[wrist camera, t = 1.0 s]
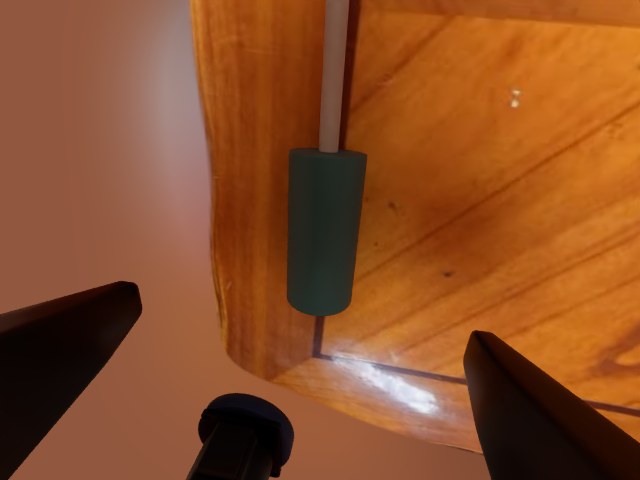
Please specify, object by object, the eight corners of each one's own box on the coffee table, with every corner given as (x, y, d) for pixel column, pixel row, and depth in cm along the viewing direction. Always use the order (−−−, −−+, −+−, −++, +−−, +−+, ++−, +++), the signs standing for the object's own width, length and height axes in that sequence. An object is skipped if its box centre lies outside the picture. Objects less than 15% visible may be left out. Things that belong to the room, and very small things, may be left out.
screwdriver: (354, 285, 16) (346, 321, 13) (297, 276, 17) (278, 310, 14) (393, -62, 11) (395, -129, 8) (306, -58, 11) (278, -120, 8)
